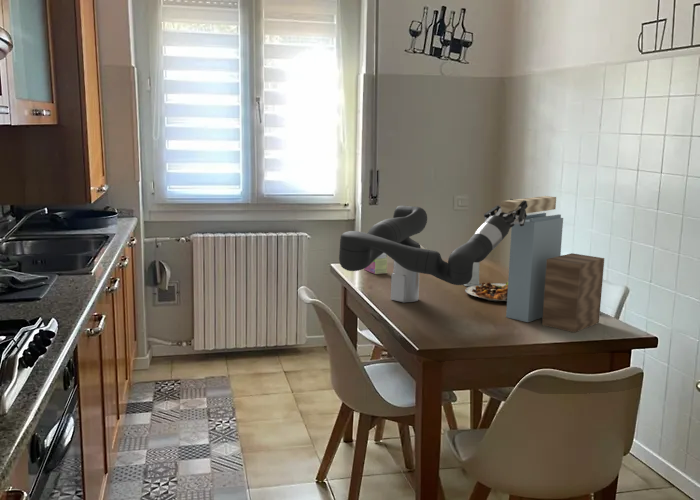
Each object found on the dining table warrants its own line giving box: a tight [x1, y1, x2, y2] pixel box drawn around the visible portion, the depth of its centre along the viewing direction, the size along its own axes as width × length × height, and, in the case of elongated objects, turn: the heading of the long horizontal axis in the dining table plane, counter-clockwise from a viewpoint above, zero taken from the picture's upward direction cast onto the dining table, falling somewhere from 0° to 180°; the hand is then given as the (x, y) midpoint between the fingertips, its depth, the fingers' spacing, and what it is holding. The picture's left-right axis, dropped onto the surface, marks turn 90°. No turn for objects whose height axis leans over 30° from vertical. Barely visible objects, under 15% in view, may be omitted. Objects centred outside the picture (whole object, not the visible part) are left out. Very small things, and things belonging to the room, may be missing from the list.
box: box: [363, 253, 388, 275], centre depth 294 cm, size 10×6×12 cm, turn 25°
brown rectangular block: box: [500, 195, 557, 215], centre depth 220 cm, size 26×4×4 cm, turn 135°
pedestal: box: [505, 212, 564, 323], centre depth 228 cm, size 18×8×33 cm, turn 135°
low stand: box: [541, 252, 605, 333], centre depth 219 cm, size 16×11×21 cm
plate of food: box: [464, 281, 508, 302], centre depth 256 cm, size 28×28×6 cm
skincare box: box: [463, 262, 480, 287], centre depth 273 cm, size 8×6×15 cm
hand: (519, 202), depth 215 cm, fingers closed on brown rectangular block, 4 cm apart
